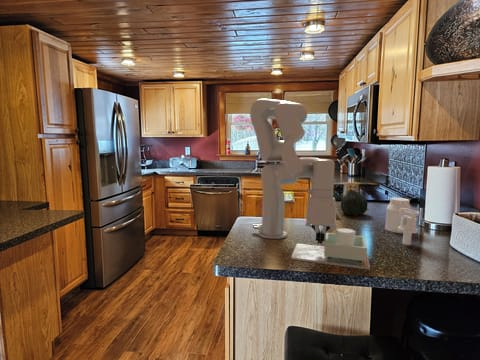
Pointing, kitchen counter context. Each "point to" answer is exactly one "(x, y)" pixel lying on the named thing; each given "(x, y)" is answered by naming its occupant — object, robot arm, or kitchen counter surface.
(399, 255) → the kitchen counter surface
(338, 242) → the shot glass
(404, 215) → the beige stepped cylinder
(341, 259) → the white flat board
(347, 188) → the candy box
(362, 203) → the squash
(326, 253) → the pale green open box
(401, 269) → the kitchen counter surface
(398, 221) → the jar
